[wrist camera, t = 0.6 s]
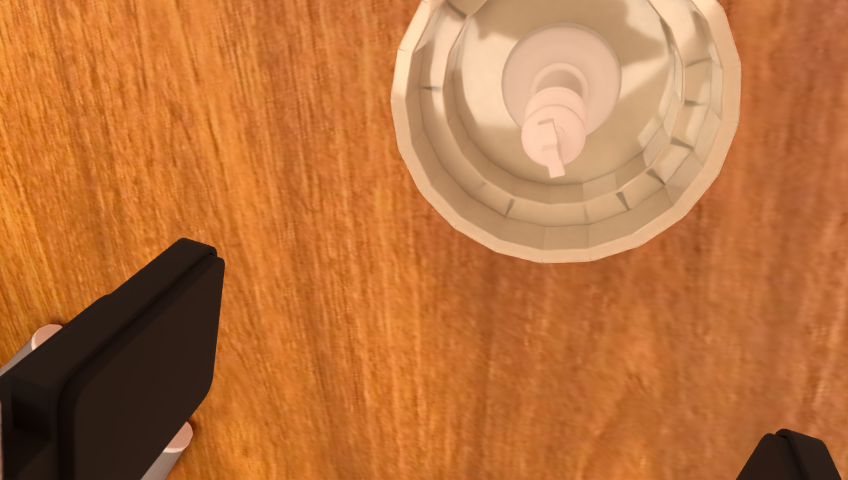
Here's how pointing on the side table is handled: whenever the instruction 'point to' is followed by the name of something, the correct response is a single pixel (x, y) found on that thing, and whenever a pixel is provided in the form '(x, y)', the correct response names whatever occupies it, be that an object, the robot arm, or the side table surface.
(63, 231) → the side table surface
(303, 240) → the side table surface
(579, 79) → the chess piece
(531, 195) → the bowl
